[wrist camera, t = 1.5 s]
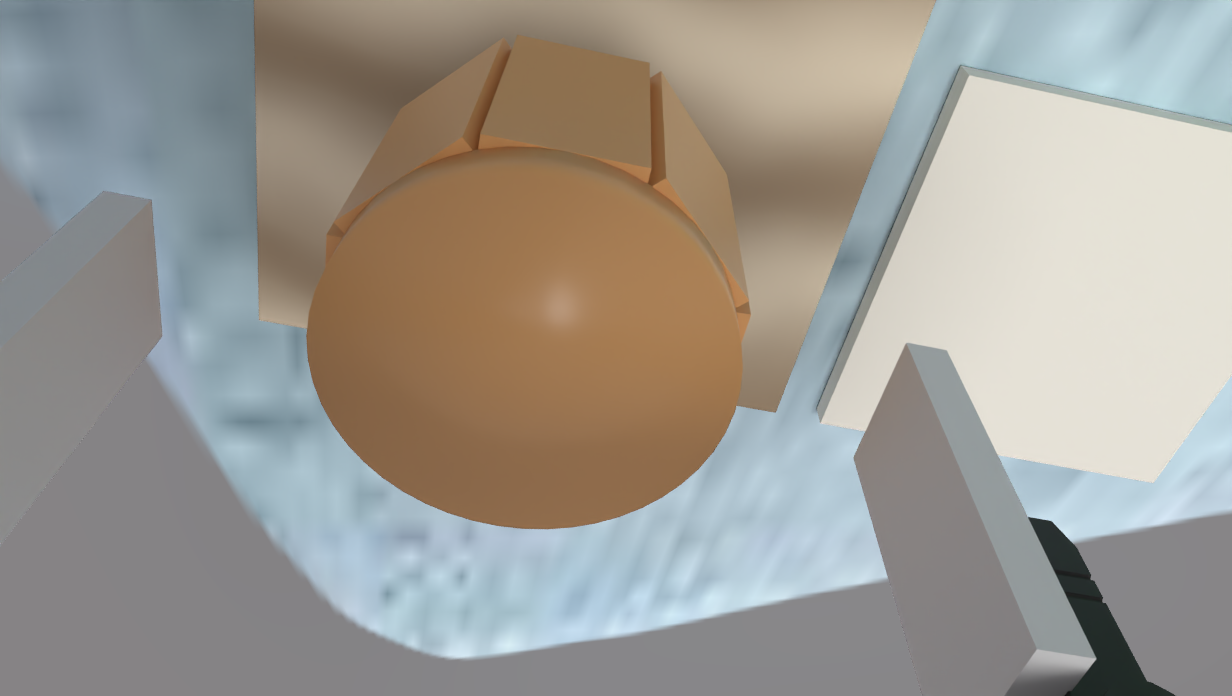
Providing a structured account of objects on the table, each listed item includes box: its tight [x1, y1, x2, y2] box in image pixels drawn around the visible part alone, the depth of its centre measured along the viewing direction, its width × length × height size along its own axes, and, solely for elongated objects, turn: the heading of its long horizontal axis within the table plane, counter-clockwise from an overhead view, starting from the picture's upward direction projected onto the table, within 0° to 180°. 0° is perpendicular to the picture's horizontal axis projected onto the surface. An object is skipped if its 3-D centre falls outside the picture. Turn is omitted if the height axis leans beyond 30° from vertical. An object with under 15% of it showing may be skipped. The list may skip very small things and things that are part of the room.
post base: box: [254, 0, 936, 413], centre depth 21 cm, size 16×16×12 cm
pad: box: [817, 66, 1232, 483], centre depth 29 cm, size 12×12×1 cm
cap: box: [306, 35, 751, 529], centre depth 18 cm, size 7×7×6 cm
